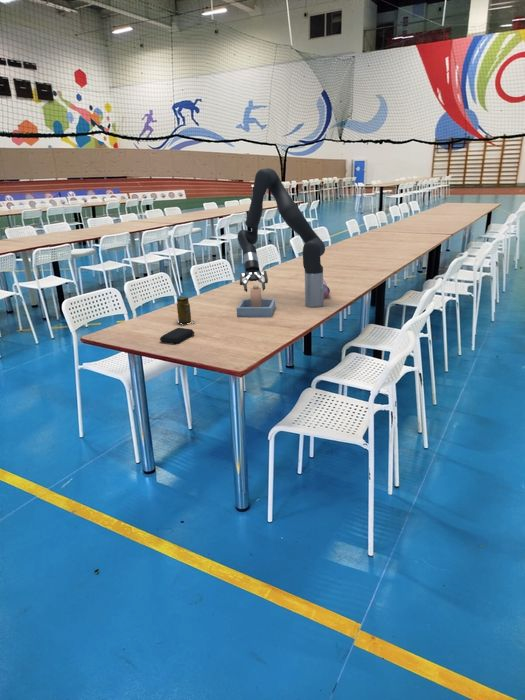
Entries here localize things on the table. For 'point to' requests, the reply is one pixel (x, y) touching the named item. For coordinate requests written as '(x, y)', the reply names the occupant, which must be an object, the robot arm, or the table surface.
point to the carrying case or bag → (177, 335)
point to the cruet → (256, 296)
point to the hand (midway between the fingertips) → (255, 290)
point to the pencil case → (325, 289)
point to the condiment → (183, 311)
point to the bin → (256, 308)
